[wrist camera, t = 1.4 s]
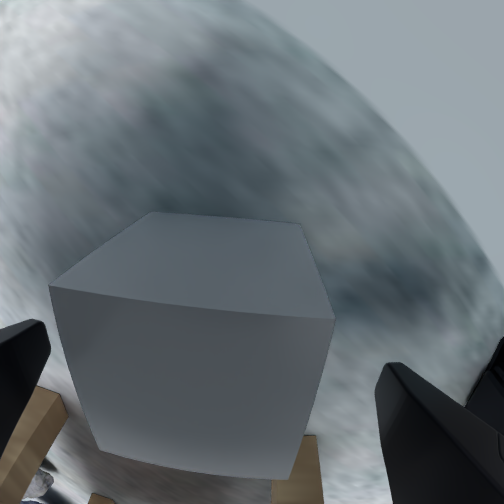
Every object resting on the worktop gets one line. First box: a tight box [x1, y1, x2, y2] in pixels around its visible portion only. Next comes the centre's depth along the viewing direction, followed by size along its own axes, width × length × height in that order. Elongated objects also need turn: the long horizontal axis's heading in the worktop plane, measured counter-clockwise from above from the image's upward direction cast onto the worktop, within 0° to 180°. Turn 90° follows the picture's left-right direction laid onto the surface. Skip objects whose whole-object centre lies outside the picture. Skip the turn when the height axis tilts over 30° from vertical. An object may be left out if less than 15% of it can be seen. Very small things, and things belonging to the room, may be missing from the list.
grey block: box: [48, 212, 336, 480], centre depth 9 cm, size 5×5×6 cm
